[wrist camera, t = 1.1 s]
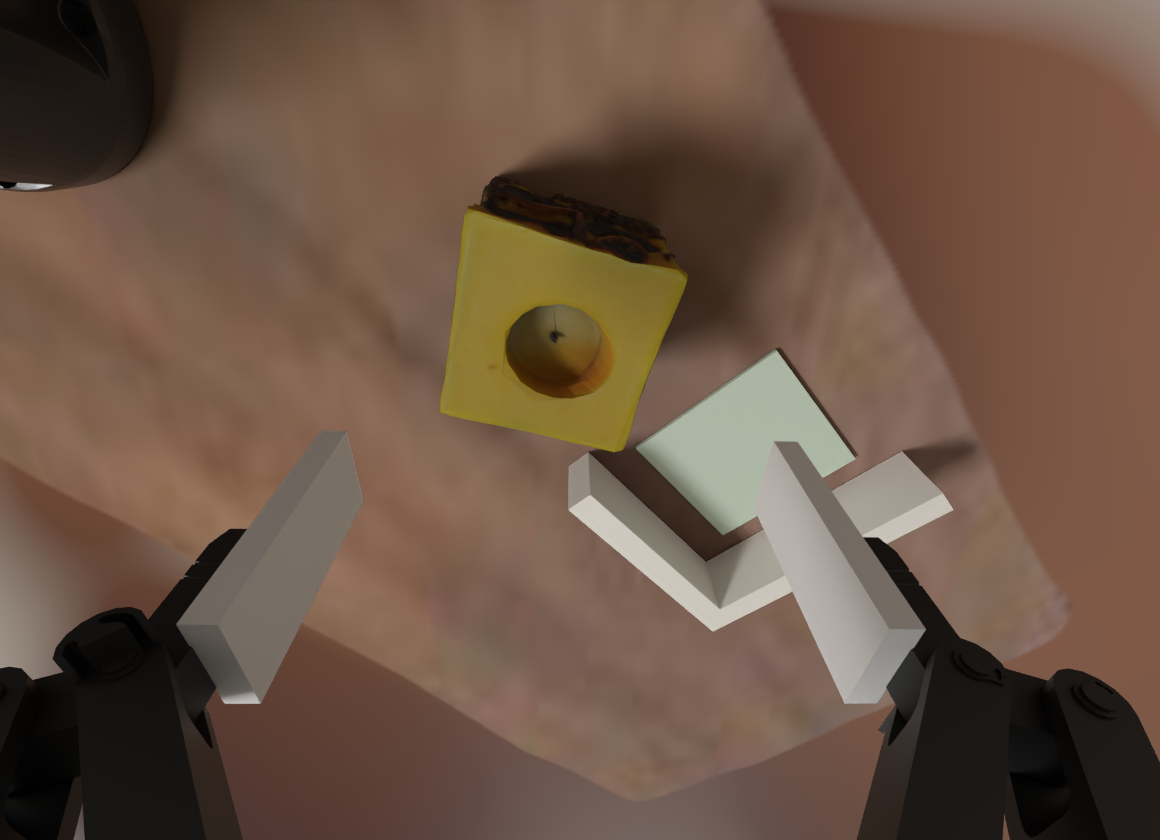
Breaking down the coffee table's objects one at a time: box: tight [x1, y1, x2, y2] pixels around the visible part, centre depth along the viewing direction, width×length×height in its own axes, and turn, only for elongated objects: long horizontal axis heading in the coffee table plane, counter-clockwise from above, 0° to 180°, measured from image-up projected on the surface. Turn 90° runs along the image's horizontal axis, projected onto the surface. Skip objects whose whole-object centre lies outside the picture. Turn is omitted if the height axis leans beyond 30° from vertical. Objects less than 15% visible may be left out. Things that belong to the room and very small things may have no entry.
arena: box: [568, 451, 953, 631], centre depth 37 cm, size 18×20×5 cm
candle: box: [440, 176, 688, 452], centre depth 27 cm, size 10×10×10 cm
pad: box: [636, 349, 855, 535], centre depth 38 cm, size 12×12×1 cm
